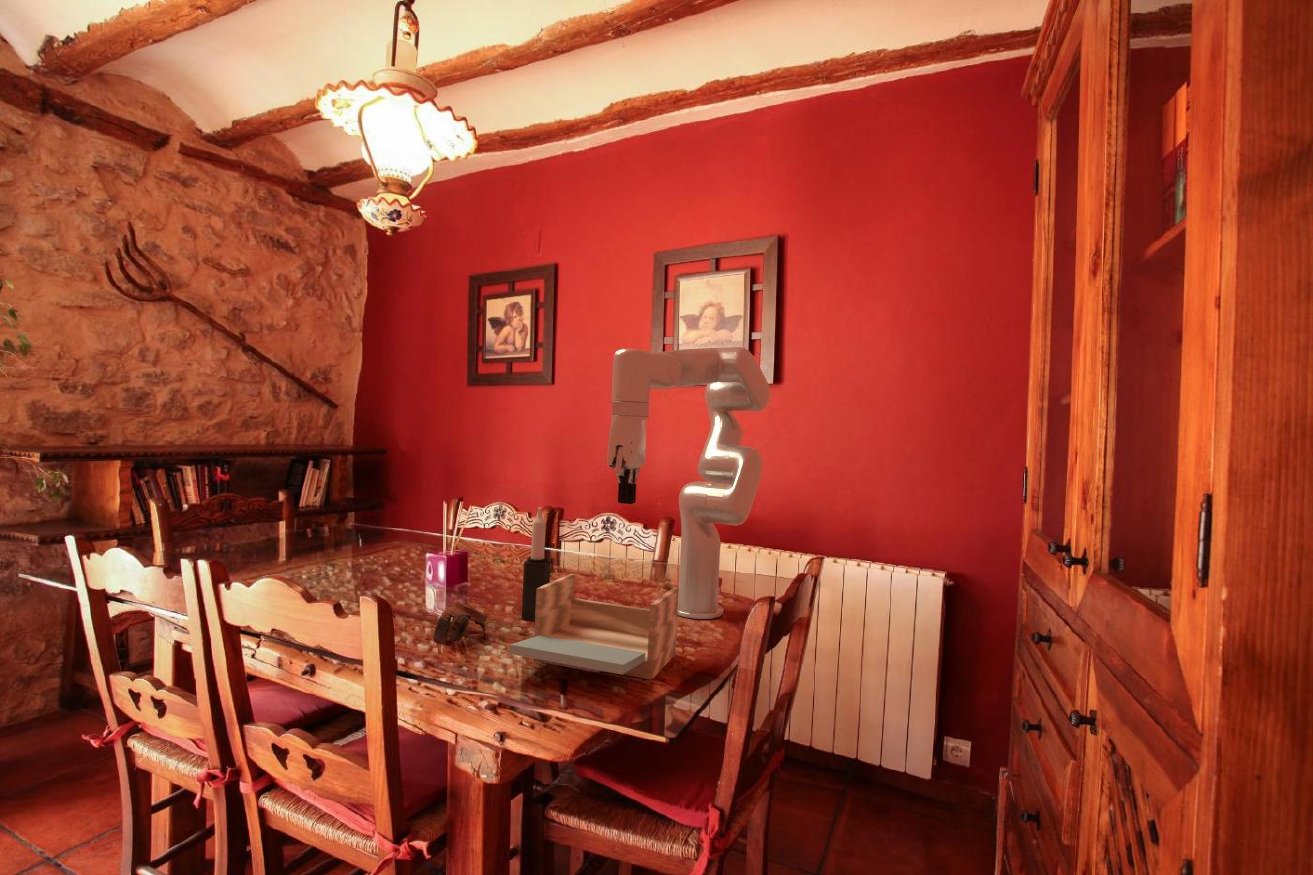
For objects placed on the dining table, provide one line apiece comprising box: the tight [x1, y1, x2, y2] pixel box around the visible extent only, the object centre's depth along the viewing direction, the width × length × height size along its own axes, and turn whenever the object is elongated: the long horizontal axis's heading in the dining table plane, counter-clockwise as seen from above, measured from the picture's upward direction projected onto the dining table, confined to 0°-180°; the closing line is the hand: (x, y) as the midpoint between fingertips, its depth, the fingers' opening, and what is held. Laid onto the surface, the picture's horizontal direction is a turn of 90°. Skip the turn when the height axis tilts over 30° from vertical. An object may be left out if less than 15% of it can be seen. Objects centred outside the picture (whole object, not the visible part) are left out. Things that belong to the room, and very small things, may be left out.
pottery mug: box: [432, 600, 488, 645], centre depth 125 cm, size 12×10×8 cm
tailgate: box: [508, 635, 645, 675], centre depth 108 cm, size 2×21×11 cm
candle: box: [520, 506, 552, 622], centre depth 141 cm, size 5×5×25 cm
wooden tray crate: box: [533, 573, 679, 680], centre depth 119 cm, size 14×23×13 cm, turn 71°
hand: (626, 502), depth 126 cm, fingers closed
